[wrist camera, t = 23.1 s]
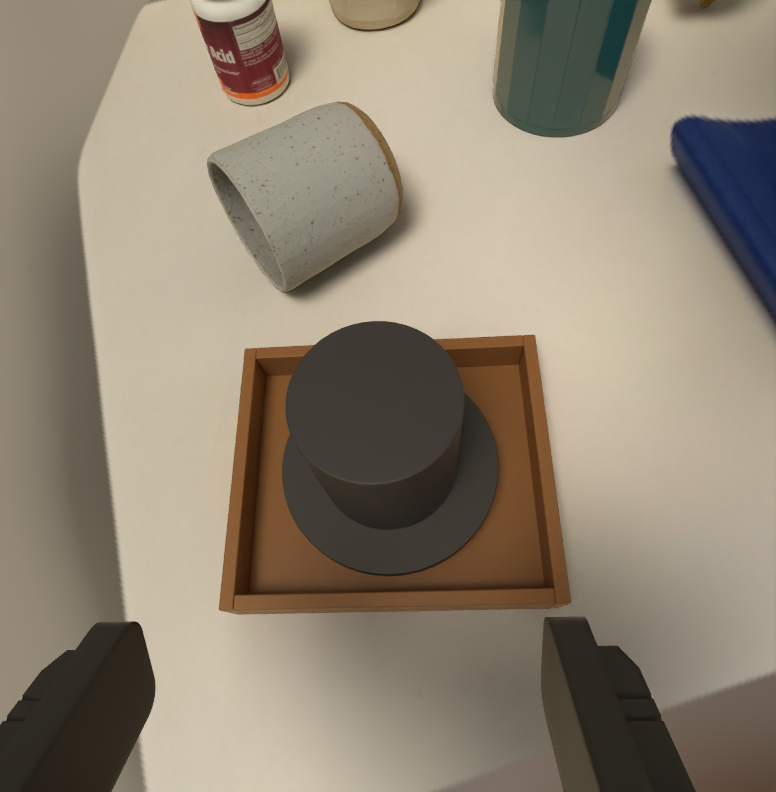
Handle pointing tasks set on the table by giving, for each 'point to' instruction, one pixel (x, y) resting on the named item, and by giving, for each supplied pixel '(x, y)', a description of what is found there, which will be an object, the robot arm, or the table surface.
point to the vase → (373, 12)
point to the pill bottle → (244, 48)
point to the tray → (423, 591)
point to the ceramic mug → (308, 191)
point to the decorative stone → (705, 3)
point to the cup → (564, 61)
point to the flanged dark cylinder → (385, 451)
